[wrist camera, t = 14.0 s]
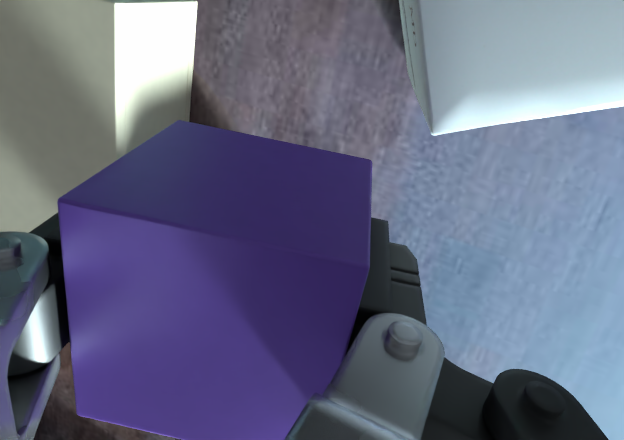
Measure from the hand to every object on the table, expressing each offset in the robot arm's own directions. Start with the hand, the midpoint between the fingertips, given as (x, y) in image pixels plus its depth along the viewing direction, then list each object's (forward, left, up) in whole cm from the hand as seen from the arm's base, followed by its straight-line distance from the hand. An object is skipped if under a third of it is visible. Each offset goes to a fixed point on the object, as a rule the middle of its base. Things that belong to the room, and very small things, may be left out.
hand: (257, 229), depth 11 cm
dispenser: (+2, -14, -17) cm, 22 cm away
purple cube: (0, 0, 0) cm, 0 cm away
